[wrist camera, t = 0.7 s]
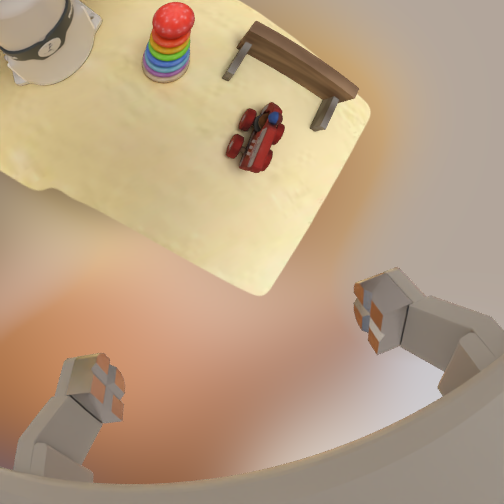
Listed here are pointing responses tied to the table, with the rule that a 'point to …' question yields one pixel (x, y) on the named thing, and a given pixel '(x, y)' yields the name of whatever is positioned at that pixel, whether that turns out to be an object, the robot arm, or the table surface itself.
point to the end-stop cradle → (296, 69)
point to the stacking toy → (169, 43)
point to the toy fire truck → (258, 138)
